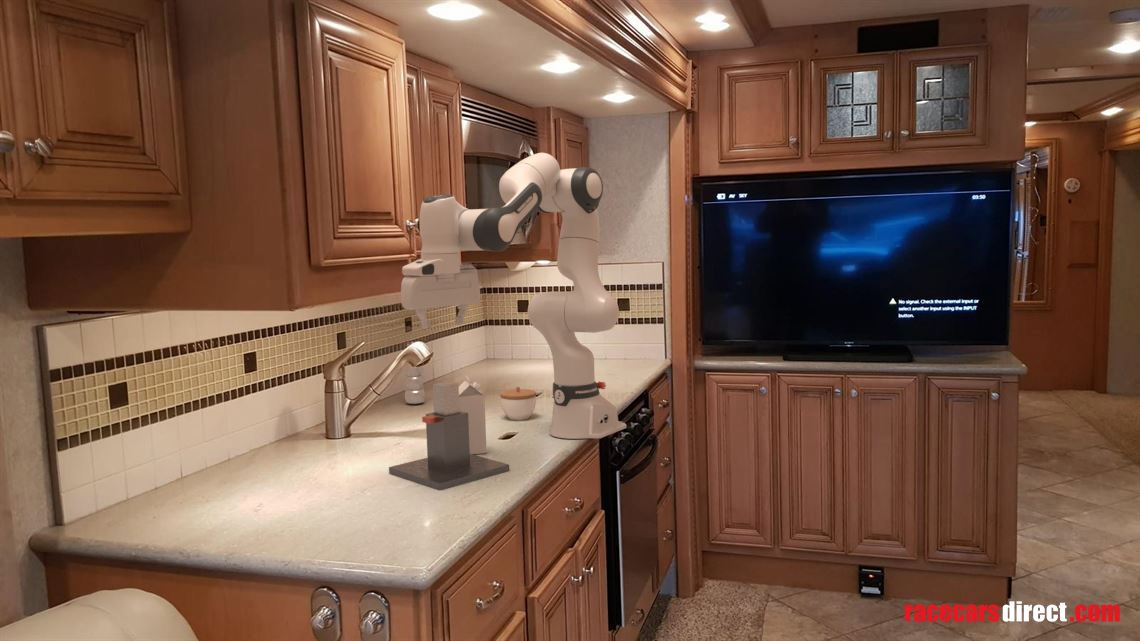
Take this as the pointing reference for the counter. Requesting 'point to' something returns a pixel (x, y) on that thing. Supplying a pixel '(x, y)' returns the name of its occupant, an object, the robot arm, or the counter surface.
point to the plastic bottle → (414, 384)
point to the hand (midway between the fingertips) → (443, 326)
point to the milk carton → (474, 415)
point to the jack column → (446, 398)
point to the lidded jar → (518, 403)
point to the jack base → (448, 456)
